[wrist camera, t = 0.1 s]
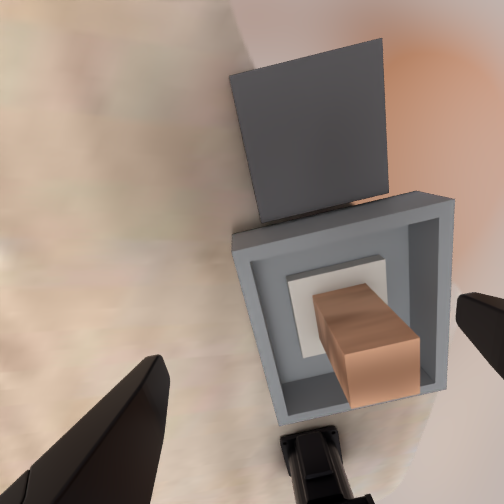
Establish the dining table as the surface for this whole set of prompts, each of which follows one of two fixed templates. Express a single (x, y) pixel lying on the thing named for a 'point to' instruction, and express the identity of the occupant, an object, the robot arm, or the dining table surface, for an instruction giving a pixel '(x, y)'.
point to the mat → (315, 130)
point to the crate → (341, 276)
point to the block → (367, 346)
